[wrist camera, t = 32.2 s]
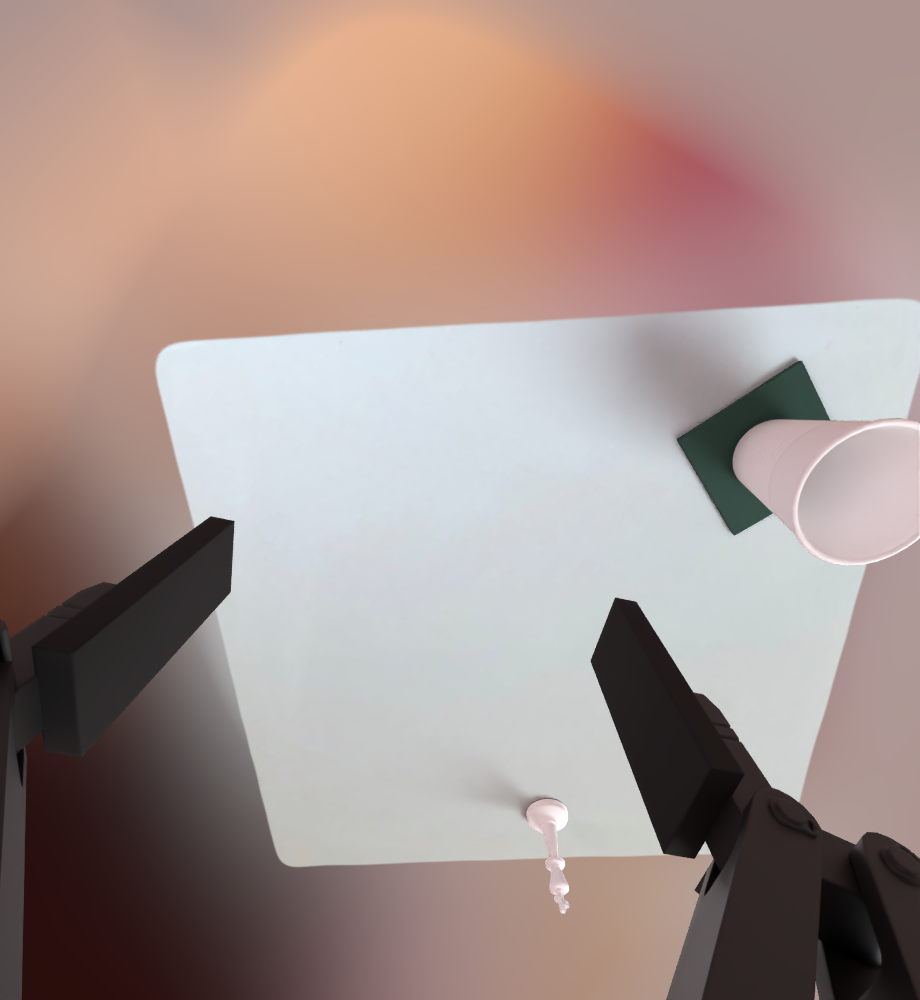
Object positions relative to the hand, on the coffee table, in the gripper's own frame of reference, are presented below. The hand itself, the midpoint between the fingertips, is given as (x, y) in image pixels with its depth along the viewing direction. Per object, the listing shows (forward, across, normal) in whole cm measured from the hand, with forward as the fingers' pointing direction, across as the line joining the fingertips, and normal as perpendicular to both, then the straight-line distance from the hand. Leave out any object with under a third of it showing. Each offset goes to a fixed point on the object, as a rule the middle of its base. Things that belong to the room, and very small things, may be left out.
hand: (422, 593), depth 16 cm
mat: (+26, +27, +4) cm, 37 cm away
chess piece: (+26, +21, -42) cm, 54 cm away
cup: (+25, +27, +4) cm, 37 cm away
